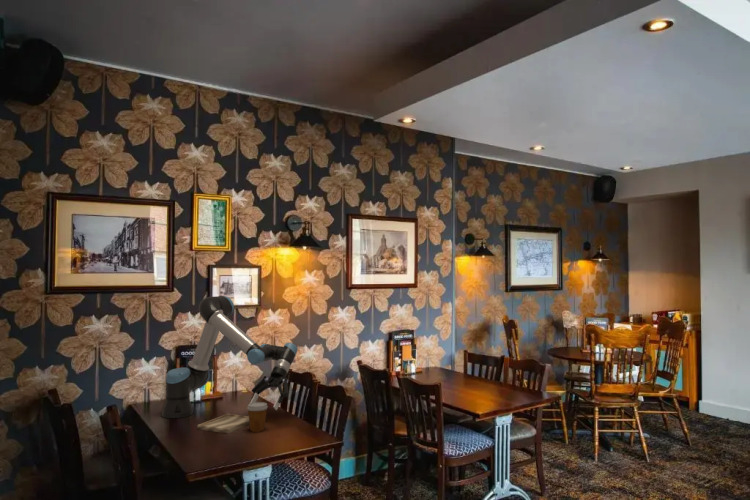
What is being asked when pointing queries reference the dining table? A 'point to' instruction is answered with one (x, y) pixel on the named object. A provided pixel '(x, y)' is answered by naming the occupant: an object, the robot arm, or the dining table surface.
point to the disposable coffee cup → (257, 416)
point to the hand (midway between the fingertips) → (263, 407)
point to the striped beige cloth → (225, 423)
